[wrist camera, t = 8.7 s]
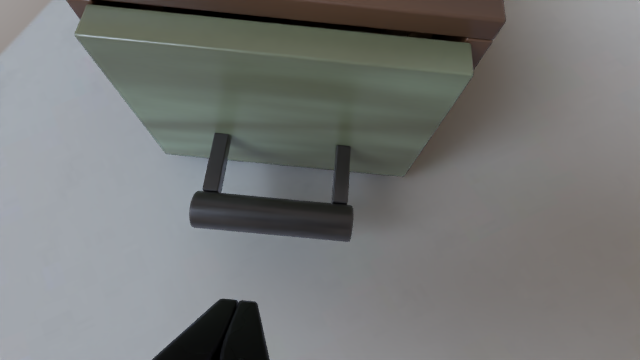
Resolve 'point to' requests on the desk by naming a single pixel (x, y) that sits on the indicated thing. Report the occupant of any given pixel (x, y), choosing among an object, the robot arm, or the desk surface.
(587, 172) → the desk surface
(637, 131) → the desk surface
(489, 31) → the cabinet
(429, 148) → the desk surface
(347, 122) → the drawer
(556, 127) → the desk surface
